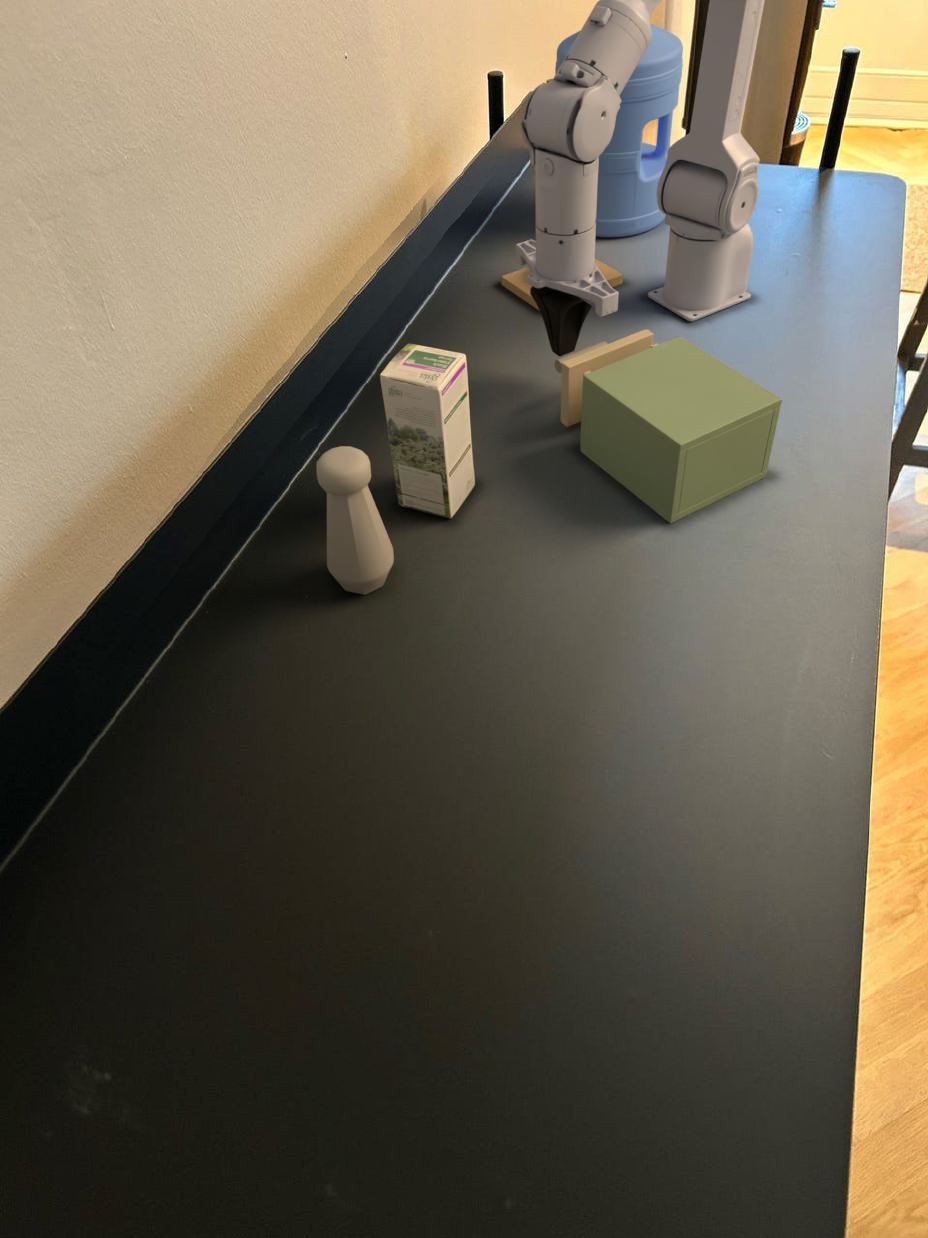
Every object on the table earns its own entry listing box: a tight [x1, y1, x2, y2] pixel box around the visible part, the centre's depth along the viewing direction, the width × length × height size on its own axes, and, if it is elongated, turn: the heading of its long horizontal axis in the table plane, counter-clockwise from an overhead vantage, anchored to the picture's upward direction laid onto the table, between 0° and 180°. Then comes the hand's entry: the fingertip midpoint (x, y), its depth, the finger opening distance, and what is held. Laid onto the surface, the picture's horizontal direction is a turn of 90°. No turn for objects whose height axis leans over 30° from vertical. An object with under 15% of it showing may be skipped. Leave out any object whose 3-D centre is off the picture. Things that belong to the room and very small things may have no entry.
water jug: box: [554, 22, 684, 238], centre depth 121 cm, size 16×16×28 cm
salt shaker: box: [316, 445, 395, 596], centre depth 78 cm, size 6×6×13 cm
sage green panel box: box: [580, 335, 783, 524], centre depth 89 cm, size 14×12×9 cm
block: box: [500, 258, 624, 312], centre depth 117 cm, size 12×9×3 cm
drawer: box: [554, 328, 660, 428], centre depth 93 cm, size 17×10×7 cm, turn 32°
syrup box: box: [379, 342, 476, 519], centre depth 85 cm, size 6×6×14 cm
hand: (563, 350), depth 100 cm, fingers closed
